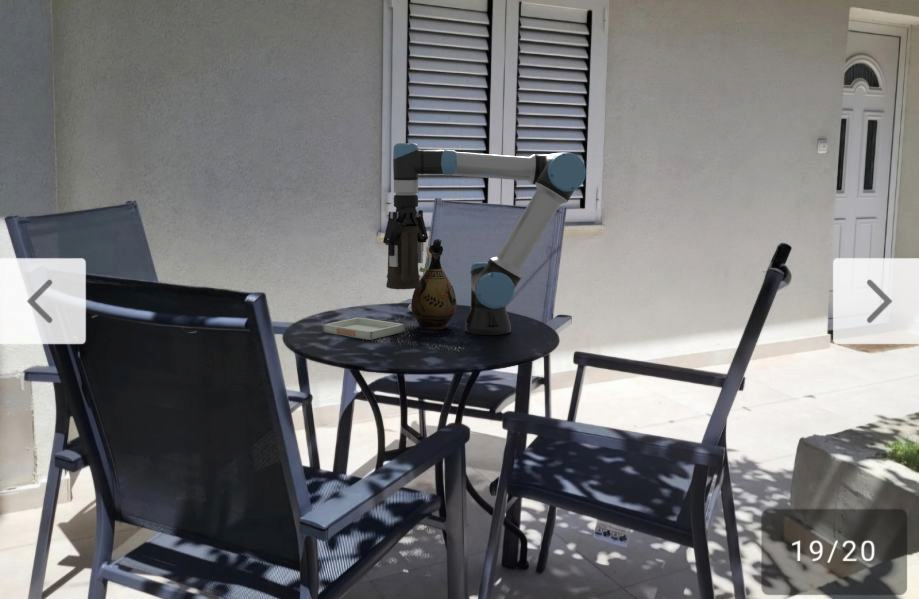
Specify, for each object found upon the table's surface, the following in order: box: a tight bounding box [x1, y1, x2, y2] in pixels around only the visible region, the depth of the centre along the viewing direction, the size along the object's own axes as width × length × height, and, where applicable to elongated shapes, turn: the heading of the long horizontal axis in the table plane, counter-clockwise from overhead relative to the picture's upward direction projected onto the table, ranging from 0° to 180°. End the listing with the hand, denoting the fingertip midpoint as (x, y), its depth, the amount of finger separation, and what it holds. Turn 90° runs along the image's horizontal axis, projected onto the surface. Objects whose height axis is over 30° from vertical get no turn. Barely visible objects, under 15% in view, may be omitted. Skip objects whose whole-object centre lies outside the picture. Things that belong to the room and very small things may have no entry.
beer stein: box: [386, 224, 421, 290], centre depth 263 cm, size 15×11×20 cm
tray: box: [322, 316, 406, 341], centre depth 280 cm, size 17×21×2 cm
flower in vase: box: [407, 245, 432, 312], centre depth 317 cm, size 13×11×25 cm
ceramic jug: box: [410, 238, 457, 331], centre depth 288 cm, size 17×15×30 cm
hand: (406, 264), depth 264 cm, fingers closed on beer stein, 11 cm apart
